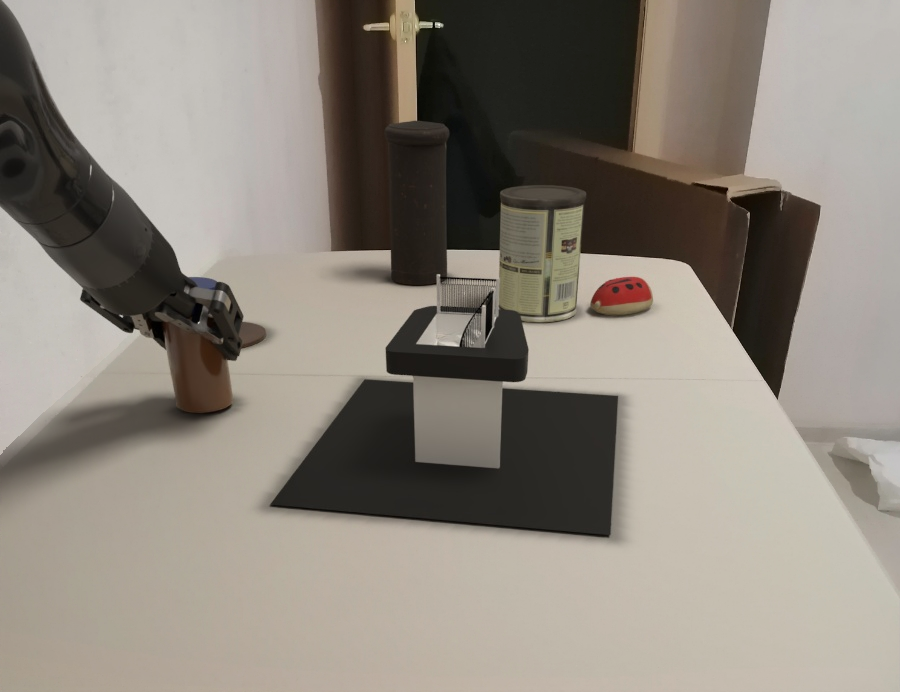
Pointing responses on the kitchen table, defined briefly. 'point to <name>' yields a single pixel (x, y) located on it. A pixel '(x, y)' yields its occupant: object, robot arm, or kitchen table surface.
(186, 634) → the kitchen table surface
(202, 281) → the lid
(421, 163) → the container
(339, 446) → the black-topped pedestal
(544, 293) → the coffee can
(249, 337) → the coaster
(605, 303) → the ladybug figurine
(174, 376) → the jar
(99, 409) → the kitchen table surface
